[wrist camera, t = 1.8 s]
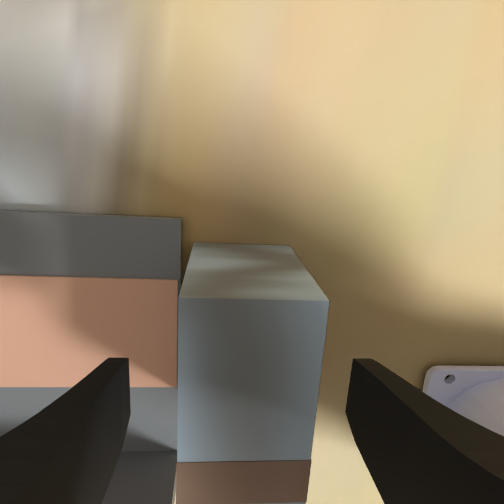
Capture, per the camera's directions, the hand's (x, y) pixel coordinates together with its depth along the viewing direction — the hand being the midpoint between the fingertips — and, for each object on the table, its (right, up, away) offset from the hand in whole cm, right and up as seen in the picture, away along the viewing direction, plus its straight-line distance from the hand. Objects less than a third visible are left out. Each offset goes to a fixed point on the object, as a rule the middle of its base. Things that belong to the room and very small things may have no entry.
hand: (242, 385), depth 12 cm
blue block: (0, +1, +5) cm, 5 cm away
